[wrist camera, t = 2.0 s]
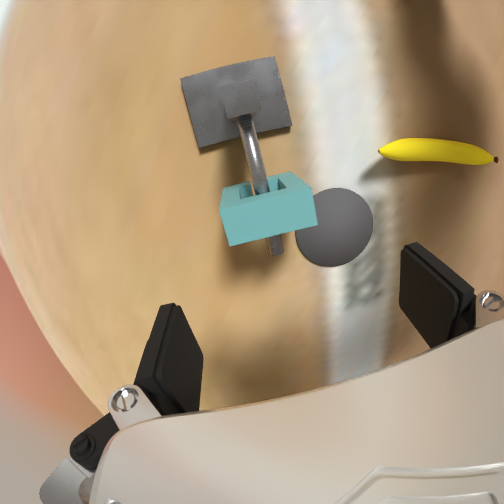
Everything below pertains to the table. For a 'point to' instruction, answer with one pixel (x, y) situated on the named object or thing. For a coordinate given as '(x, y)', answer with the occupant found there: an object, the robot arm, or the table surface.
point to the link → (267, 209)
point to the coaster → (336, 228)
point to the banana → (436, 151)
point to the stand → (239, 113)
